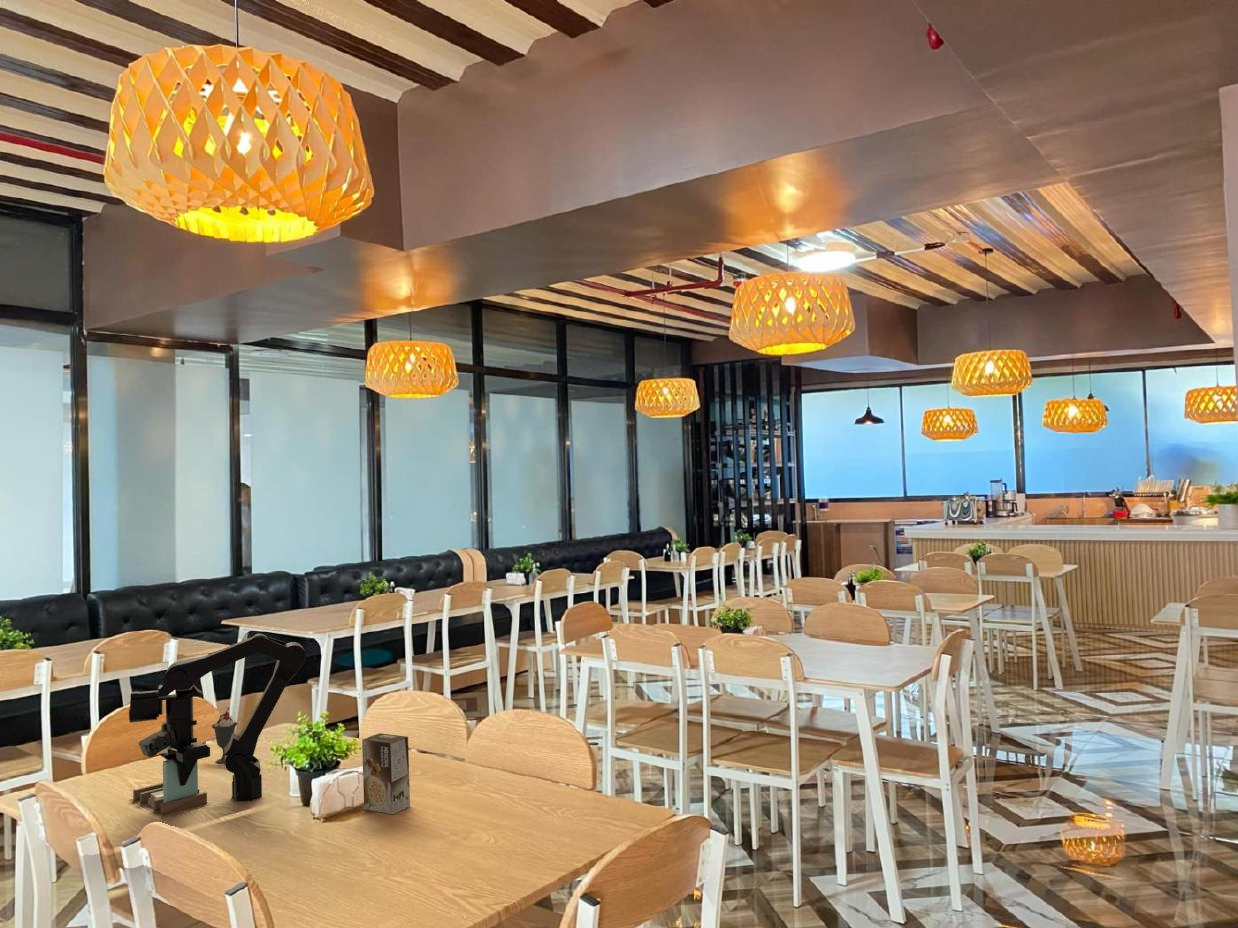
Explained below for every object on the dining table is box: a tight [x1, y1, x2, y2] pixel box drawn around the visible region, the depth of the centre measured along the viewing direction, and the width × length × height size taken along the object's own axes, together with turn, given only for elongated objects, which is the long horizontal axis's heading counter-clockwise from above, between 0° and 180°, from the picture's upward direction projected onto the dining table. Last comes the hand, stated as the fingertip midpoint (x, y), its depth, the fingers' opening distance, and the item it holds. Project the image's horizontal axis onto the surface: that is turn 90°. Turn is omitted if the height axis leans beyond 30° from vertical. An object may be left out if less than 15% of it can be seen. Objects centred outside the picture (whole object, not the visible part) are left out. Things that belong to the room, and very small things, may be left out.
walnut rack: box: [129, 782, 212, 819], centre depth 211 cm, size 20×11×4 cm, turn 49°
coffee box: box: [361, 732, 411, 815], centre depth 206 cm, size 9×6×16 cm
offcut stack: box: [148, 791, 163, 807], centre depth 212 cm, size 5×8×2 cm, turn 139°
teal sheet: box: [162, 759, 199, 803], centre depth 208 cm, size 2×7×10 cm, turn 139°
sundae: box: [211, 706, 239, 764], centre depth 248 cm, size 7×7×15 cm
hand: (180, 784), depth 208 cm, fingers closed on teal sheet, 2 cm apart
